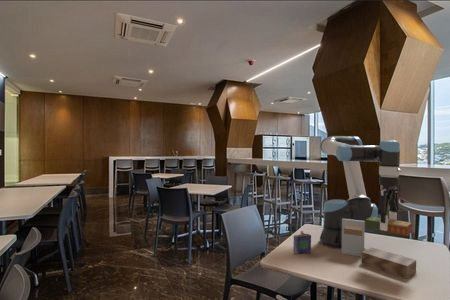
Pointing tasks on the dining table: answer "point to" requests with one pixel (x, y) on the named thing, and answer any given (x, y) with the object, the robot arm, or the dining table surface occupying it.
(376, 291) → the dining table surface
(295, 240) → the flask
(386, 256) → the walnut block
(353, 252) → the board
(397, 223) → the carton
